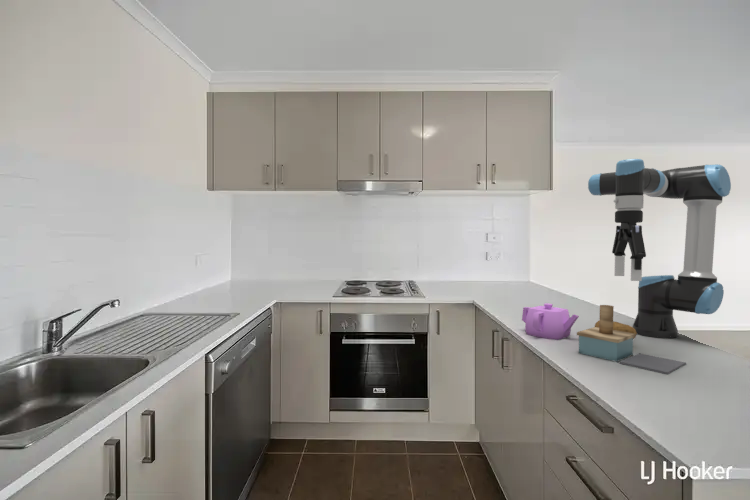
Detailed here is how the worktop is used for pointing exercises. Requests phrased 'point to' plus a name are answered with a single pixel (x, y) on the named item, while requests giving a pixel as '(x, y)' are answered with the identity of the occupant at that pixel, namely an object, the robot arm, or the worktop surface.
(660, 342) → the worktop surface
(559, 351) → the worktop surface
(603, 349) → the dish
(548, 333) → the teakettle
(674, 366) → the mat
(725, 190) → the robot arm
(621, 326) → the potato
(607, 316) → the lid
